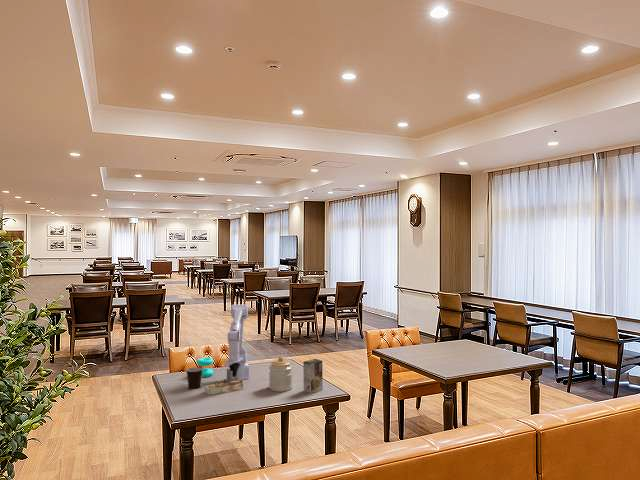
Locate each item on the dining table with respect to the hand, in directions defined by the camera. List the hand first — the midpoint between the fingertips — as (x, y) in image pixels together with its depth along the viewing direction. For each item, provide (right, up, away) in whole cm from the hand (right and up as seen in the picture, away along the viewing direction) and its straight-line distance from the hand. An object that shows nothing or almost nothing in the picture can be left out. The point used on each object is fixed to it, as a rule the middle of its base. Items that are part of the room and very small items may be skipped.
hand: (234, 376), depth 256 cm
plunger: (-3, -3, -2) cm, 5 cm away
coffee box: (+44, -7, -3) cm, 45 cm away
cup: (-10, -6, -7) cm, 14 cm away
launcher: (-2, -6, -1) cm, 7 cm away
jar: (+26, -7, 0) cm, 27 cm away
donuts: (-22, -7, +25) cm, 34 cm away
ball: (-10, -4, -6) cm, 13 cm away
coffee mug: (-22, -7, +3) cm, 24 cm away
